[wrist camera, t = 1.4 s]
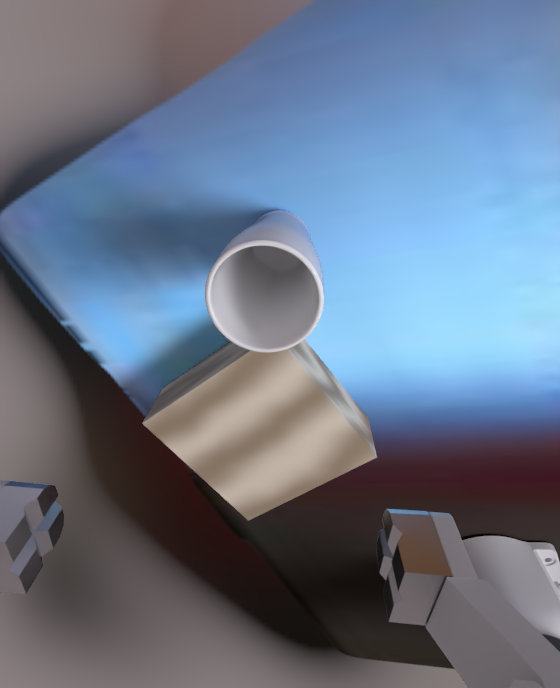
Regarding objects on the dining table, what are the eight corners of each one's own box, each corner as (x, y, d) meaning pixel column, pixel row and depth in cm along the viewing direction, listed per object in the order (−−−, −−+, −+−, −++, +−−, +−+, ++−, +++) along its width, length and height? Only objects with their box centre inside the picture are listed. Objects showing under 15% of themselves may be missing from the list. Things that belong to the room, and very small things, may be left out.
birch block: (368, 418, 43) (376, 457, 38) (254, 478, 49) (248, 520, 43) (278, 307, 38) (274, 334, 33) (162, 388, 43) (142, 423, 38)
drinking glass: (248, 280, 37) (215, 359, 24) (236, 204, 34) (190, 246, 21) (321, 273, 36) (329, 350, 23) (315, 195, 33) (320, 231, 20)
